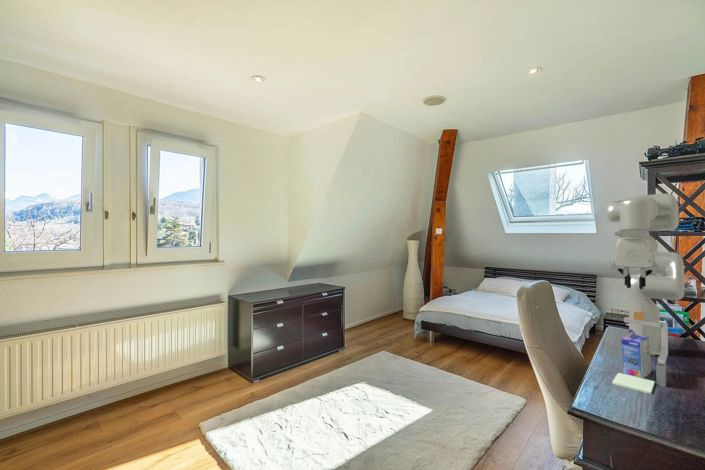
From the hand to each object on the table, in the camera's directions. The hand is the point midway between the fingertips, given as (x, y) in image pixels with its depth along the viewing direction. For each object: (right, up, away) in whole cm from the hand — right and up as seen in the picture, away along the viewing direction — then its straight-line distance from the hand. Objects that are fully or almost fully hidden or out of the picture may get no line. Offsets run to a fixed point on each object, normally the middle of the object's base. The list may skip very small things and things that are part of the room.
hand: (635, 287), depth 110 cm
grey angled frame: (+3, -23, 0) cm, 23 cm away
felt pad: (-8, -29, -9) cm, 31 cm away
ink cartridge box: (0, -29, -1) cm, 29 cm away
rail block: (+1, -29, -9) cm, 30 cm away
